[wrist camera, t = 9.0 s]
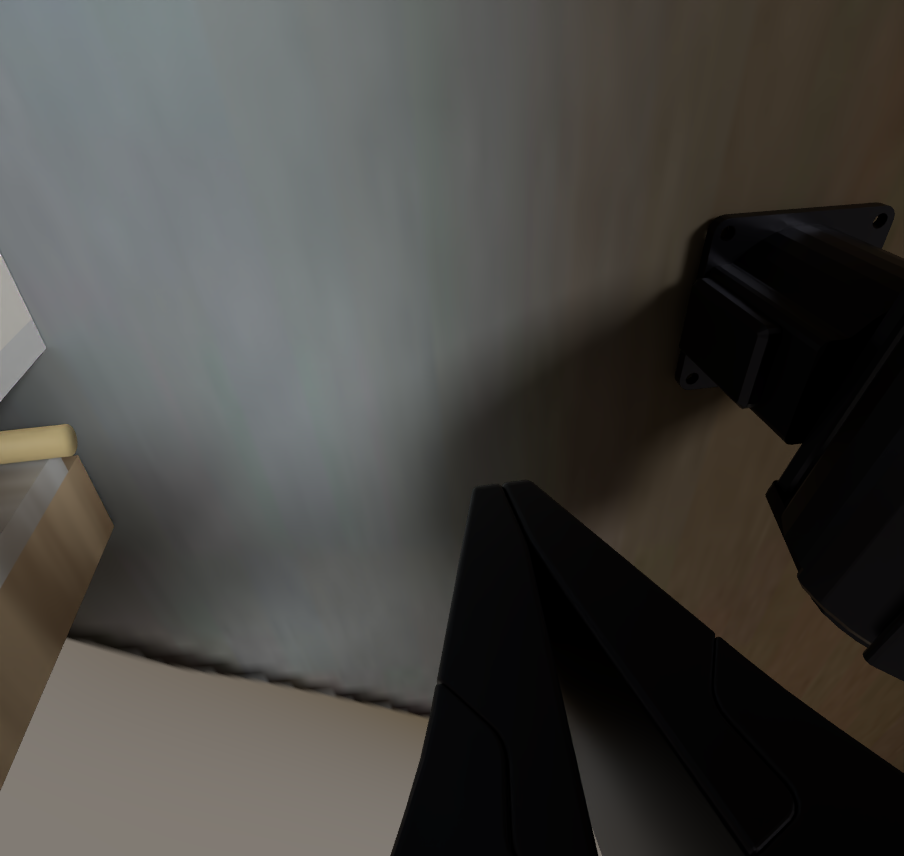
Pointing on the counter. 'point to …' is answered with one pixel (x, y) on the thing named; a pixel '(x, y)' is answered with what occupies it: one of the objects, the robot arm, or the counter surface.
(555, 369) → the counter surface
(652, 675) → the robot arm
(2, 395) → the frame leaf
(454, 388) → the counter surface
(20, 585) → the light wood tall block
